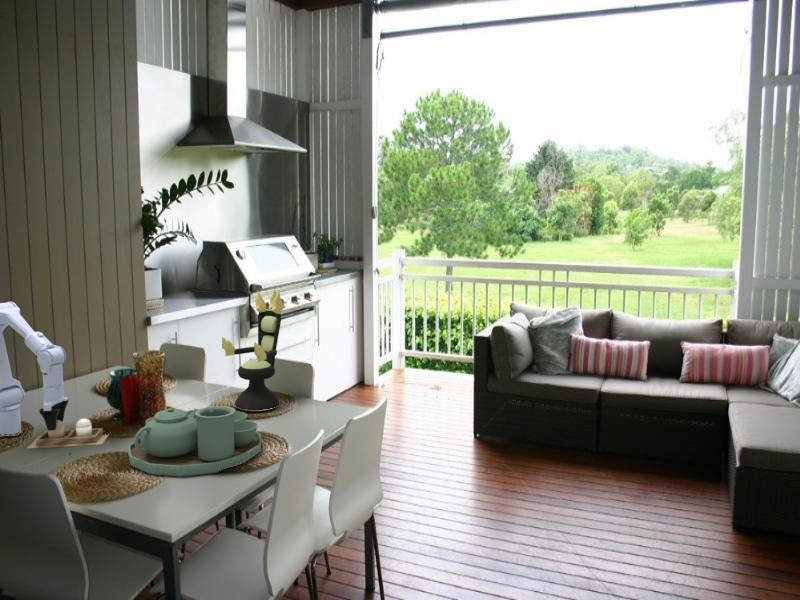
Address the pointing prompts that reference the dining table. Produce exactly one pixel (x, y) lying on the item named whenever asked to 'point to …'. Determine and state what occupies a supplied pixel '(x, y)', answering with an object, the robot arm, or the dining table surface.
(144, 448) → the tea set
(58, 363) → the robot arm
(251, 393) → the toy throne chair
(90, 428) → the cream egg
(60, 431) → the brown egg
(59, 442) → the wooden divided tray
